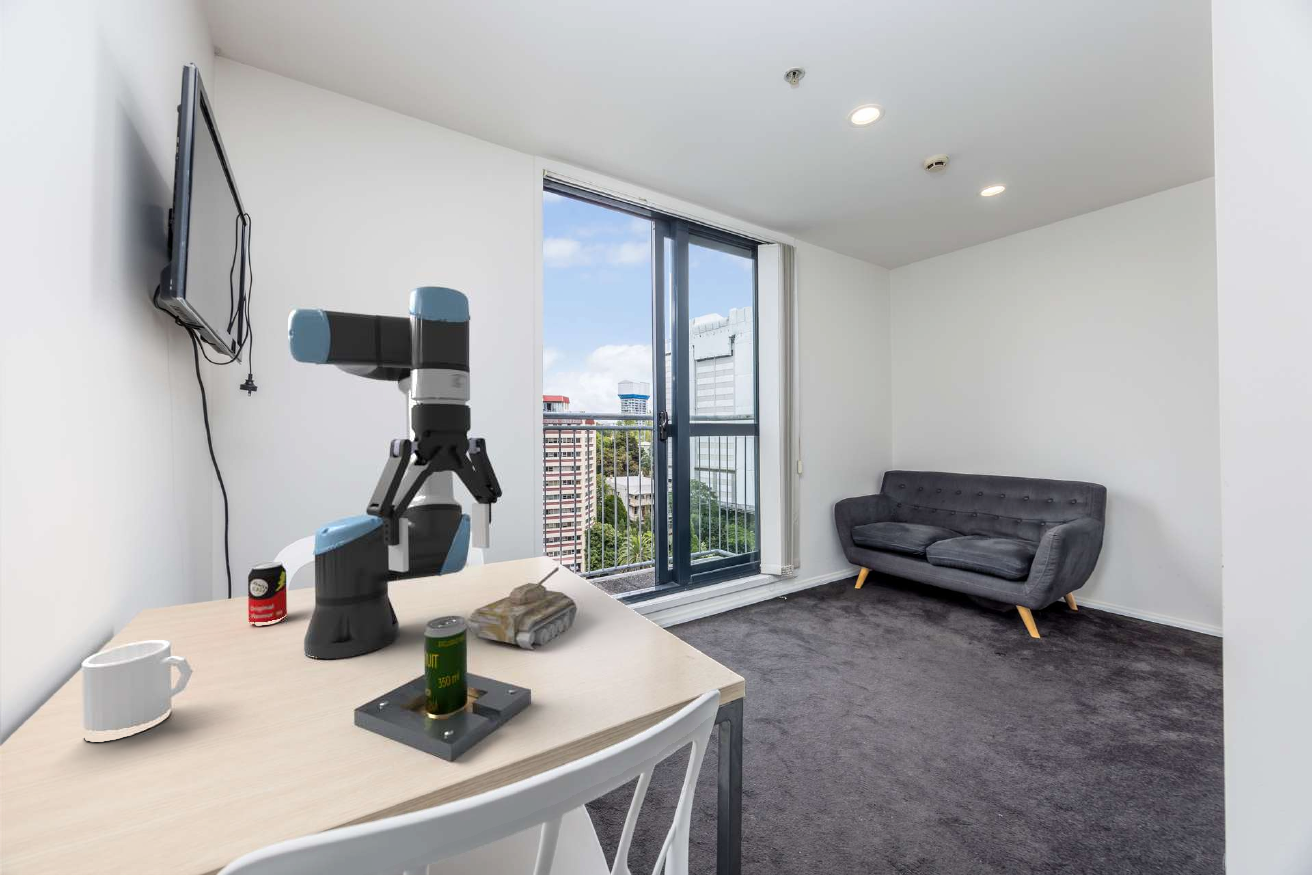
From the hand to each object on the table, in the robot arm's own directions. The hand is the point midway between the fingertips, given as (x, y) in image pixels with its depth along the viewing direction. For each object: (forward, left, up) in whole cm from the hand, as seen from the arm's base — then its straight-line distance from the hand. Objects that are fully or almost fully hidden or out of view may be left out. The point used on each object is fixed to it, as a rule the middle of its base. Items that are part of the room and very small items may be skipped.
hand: (443, 558), depth 69 cm
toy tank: (-10, +29, -22) cm, 38 cm away
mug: (-35, -19, -22) cm, 45 cm away
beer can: (0, 0, -21) cm, 21 cm away
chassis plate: (0, 0, -21) cm, 21 cm away
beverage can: (-63, +9, -22) cm, 67 cm away
